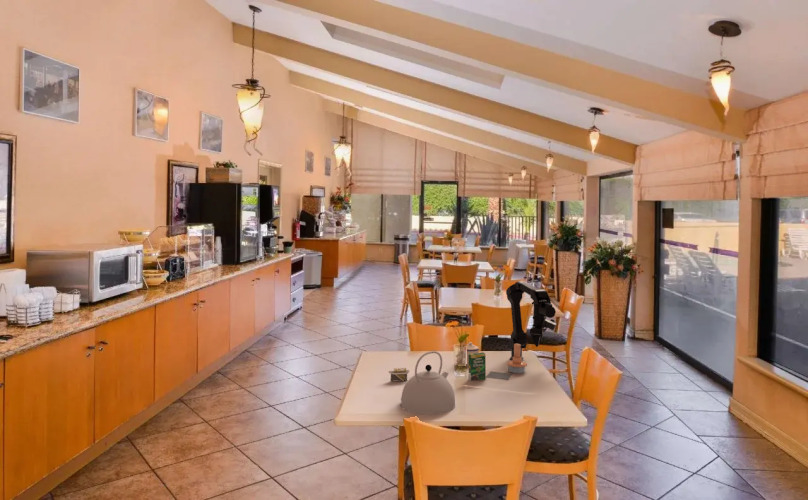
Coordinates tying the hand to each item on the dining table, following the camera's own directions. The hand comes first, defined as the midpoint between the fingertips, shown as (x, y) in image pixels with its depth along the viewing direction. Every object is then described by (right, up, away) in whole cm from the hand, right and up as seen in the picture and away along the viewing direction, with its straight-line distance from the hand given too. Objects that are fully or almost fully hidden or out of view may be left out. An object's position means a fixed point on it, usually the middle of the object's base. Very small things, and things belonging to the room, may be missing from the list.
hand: (538, 344), depth 292 cm
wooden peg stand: (-12, -9, -4) cm, 16 cm away
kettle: (-58, -17, -51) cm, 79 cm away
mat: (-22, -14, -12) cm, 28 cm away
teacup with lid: (-35, -12, +11) cm, 39 cm away
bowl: (-12, -13, -4) cm, 18 cm away
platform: (-71, -15, -20) cm, 75 cm away
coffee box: (-34, -14, -18) cm, 41 cm away
